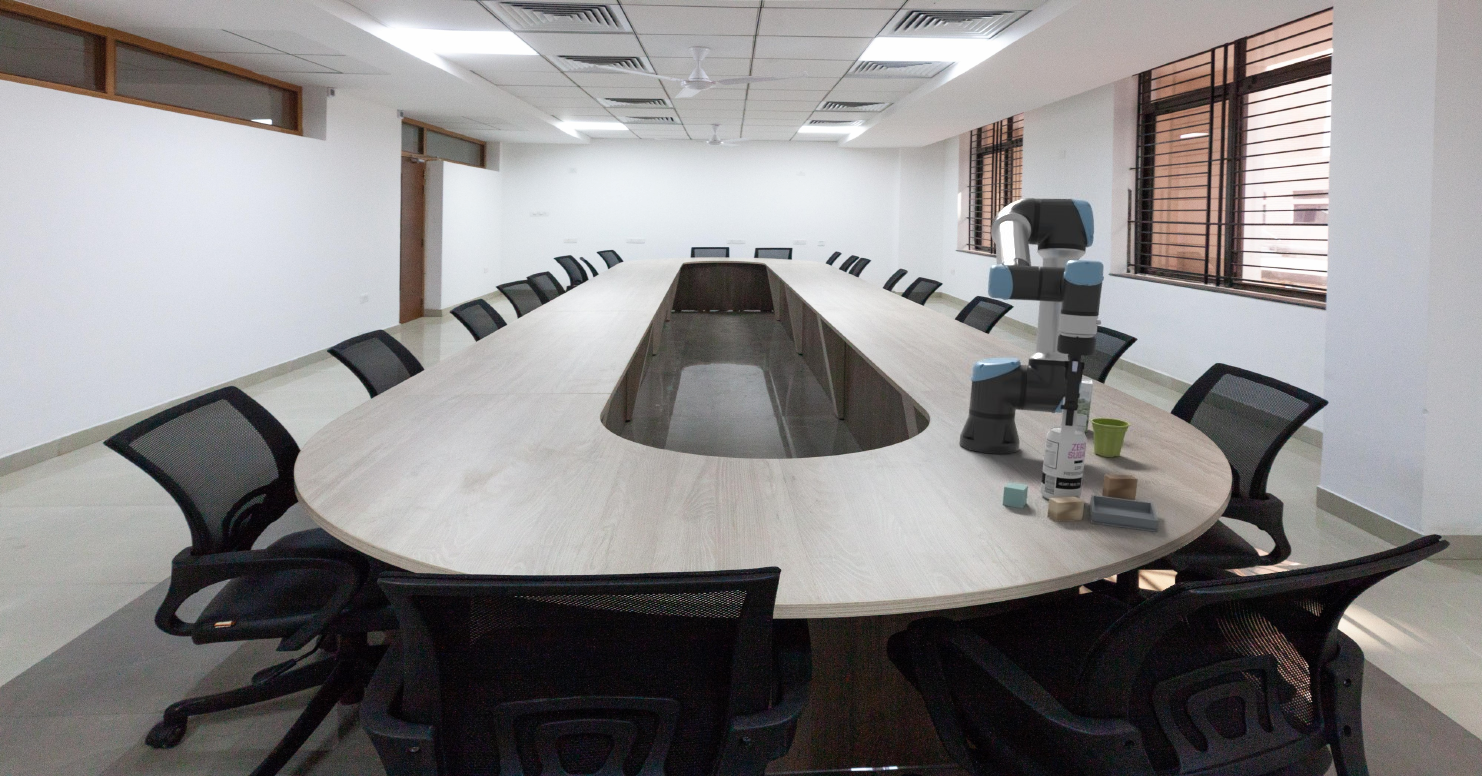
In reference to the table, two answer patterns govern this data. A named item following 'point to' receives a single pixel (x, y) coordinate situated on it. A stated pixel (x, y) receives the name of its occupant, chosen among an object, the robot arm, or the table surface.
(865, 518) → the table surface
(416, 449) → the table surface
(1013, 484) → the teal block
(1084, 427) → the syrup box
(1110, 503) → the tray
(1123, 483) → the walnut block
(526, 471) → the table surface
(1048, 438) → the supplement can
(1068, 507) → the tan block
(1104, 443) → the plant pot
